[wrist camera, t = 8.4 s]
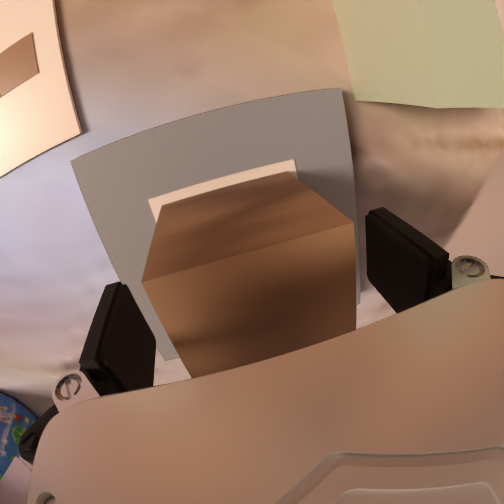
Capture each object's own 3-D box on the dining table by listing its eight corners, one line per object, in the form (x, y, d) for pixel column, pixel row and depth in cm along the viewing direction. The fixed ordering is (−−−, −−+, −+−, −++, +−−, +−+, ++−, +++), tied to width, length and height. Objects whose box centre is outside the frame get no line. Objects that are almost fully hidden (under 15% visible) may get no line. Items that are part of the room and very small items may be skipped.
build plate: (329, 88, 12) (341, 87, 11) (351, 292, 18) (360, 304, 17) (79, 156, 12) (69, 161, 11) (165, 347, 17) (164, 361, 16)
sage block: (414, 8, 11) (492, -6, 5) (431, 95, 13) (513, 108, 8) (330, 0, 10) (403, -39, 5) (353, 100, 13) (437, 108, 8)
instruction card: (51, -32, 6) (49, -35, 6) (82, 132, 11) (79, 133, 11) (-45, 37, 6) (-48, 37, 6) (-17, 187, 11) (-20, 189, 11)
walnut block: (286, 171, 13) (353, 222, 7) (304, 276, 15) (355, 360, 10) (161, 205, 12) (141, 282, 7) (199, 306, 15) (208, 404, 10)
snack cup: (73, 403, 19) (56, 512, 10) (88, 453, 23) (82, 533, 14) (-60, 353, 14) (-97, 431, 6) (-26, 413, 19) (-46, 480, 10)
